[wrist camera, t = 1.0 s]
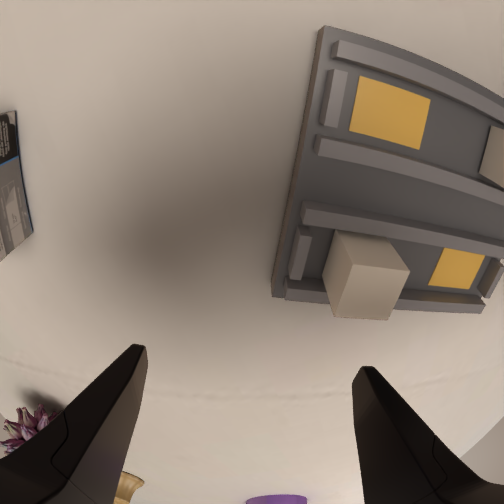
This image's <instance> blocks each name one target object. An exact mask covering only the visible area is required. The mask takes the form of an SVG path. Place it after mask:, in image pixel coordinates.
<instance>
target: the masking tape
mask: <svg viewBox="0 0 504 504" xmlns="http://www.w3.org/2000/svg"><path fill="white" fill-rule="evenodd" d="M246 504H307V499H306V497H303V496H299V495H267V496H260V497H254V498H251V499H248V500H247V501H246Z"/></svg>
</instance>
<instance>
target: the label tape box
mask: <svg viewBox="0 0 504 504" xmlns="http://www.w3.org/2000/svg"><path fill="white" fill-rule="evenodd" d="M30 234H32V227H31V223H30V219H29V215H28V210H27V205H26V200H25V195H24V189H23V184H22V177H21V170H20V164H19V155H18V147H17V137H16V125H15V111H11V112H6V113H2V114H0V262H1V261H2V260H3V259H4V258H5V257H6V256H7V255H8V254H9V253H10V252H11V251H12V250H14V249H15V248H16V247H17V246H18V245H19V244H20V243H22V242H23V241H24V240H25V239H26V238H27V237H28V236H29V235H30Z"/></svg>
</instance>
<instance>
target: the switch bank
mask: <svg viewBox="0 0 504 504" xmlns="http://www.w3.org/2000/svg"><path fill="white" fill-rule="evenodd" d="M491 125H492V126H495V127H497V128H500V129H503V130H504V98H502V97H500V96H499V95H497V94H495V93H494V92H492V91H490V90H488V89H487V88H485V87H483V86H481V85H480V84H478V83H476V82H474V81H472V80H470V79H468V78H466V77H465V76H463V75H461V74H459V73H457V72H455V71H453V70H450V69H448V68H446V67H444V66H442V65H440V64H438V63H435V62H433V61H431V60H428V59H426V58H424V57H421V56H419V55H417V54H414V53H412V52H409V51H406V50H404V49H401V48H398V47H396V46H393V45H390V44H387V43H384V42H381V41H379V40H375V39H372V38H369V37H366V36H363V35H359V34H356V33H353V32H349V31H345V30H342V29H338V28H334V27H330V26H326V25H325V26H323V27H322V28H321V29H319V31H318V37H317V43H316V49H315V55H314V61H313V67H312V73H311V78H310V84H309V90H308V96H307V101H306V107H305V112H304V118H303V123H302V129H301V134H300V140H299V145H298V150H297V156H296V161H295V166H294V171H293V176H292V182H291V187H290V192H289V197H288V202H287V207H286V212H285V217H284V222H283V227H282V232H281V237H280V241H279V246H278V251H277V256H276V261H275V265H274V270H273V275H272V280H271V290H272V297H278V298H284V300H291V301H300V302H311V303H321V304H330V302H329V298H328V295H327V291H326V288H325V285H324V281H323V278H322V273H323V270H324V267H325V263H326V260H327V257H328V253H329V250H330V246H331V243H332V240H333V236H334V232H335V229H339V230H345V231H352V232H358V233H364V234H370V235H376V236H382V237H386V238H387V239H388V240H389V242H390V243H391V245H392V246H393V247H394V249H395V250H396V252H397V253H398V254H399V256H400V257H401V259H402V260H403V262H404V263H405V265H406V266H407V267H408V269H409V270H410V273H409V275H408V278H407V280H406V282H405V284H404V287H403V289H402V291H401V293H400V295H399V298H398V300H397V302H396V304H395V306H394V308H393V309H397V310H412V311H430V312H450V313H475V314H481V312H482V311H483V309H484V307H485V303H484V302H483V301H482V300H481V297H482V295H483V297H484V298H490V296H491V295H492V293H493V291H494V289H495V287H496V285H497V283H498V281H499V280H500V278H501V276H502V274H503V272H504V266H503V265H502V264H501V263H500V262H499V261H500V259H504V188H503V187H501V186H500V185H498V184H497V183H495V182H493V181H492V180H490V179H488V178H486V177H485V176H483V175H481V174H480V173H479V171H480V167H481V164H482V160H483V157H484V153H485V149H486V145H487V142H488V137H489V133H490V129H491Z"/></svg>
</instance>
